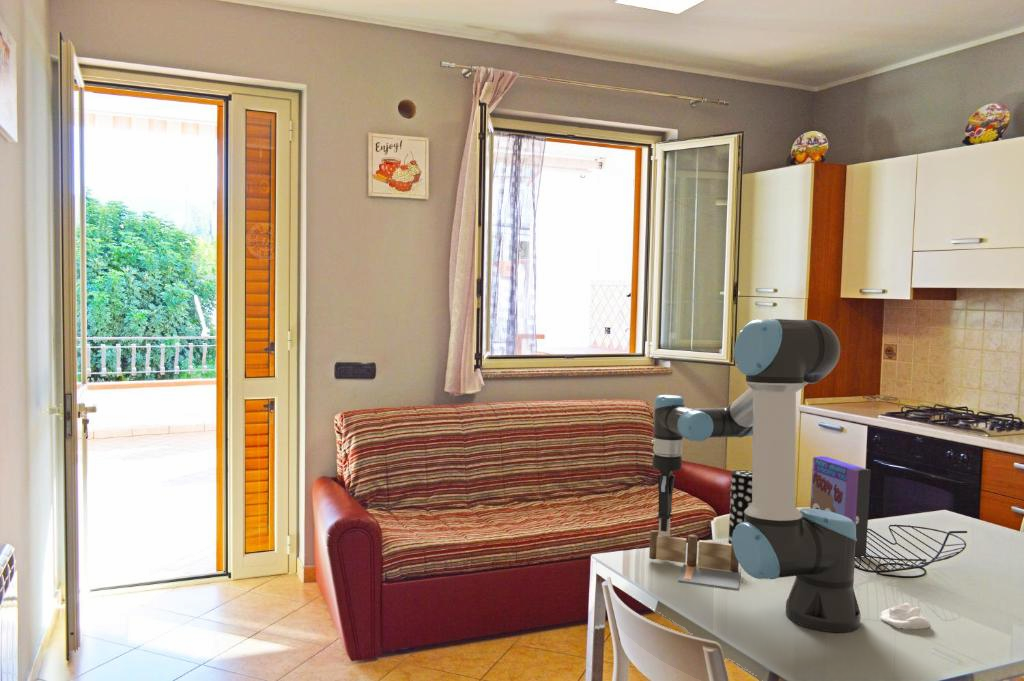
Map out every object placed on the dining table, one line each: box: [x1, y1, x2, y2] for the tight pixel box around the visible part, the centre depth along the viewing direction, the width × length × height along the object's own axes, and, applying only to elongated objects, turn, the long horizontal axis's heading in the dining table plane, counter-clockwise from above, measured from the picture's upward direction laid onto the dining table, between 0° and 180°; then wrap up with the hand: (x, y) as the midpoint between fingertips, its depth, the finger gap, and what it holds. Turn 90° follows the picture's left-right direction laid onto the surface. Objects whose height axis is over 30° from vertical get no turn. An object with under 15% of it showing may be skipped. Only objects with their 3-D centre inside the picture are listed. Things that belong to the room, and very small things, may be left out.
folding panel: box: [648, 529, 688, 564], centre depth 204 cm, size 9×2×7 cm, turn 72°
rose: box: [880, 602, 931, 630], centre depth 171 cm, size 10×4×10 cm
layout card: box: [677, 561, 742, 591], centre depth 196 cm, size 14×14×1 cm
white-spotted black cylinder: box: [728, 469, 752, 544], centre depth 222 cm, size 8×8×20 cm
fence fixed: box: [686, 534, 740, 572], centre depth 200 cm, size 13×2×8 cm, turn 72°
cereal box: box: [809, 455, 872, 558], centre depth 221 cm, size 17×5×24 cm, turn 17°
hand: (663, 541), depth 210 cm, fingers closed
